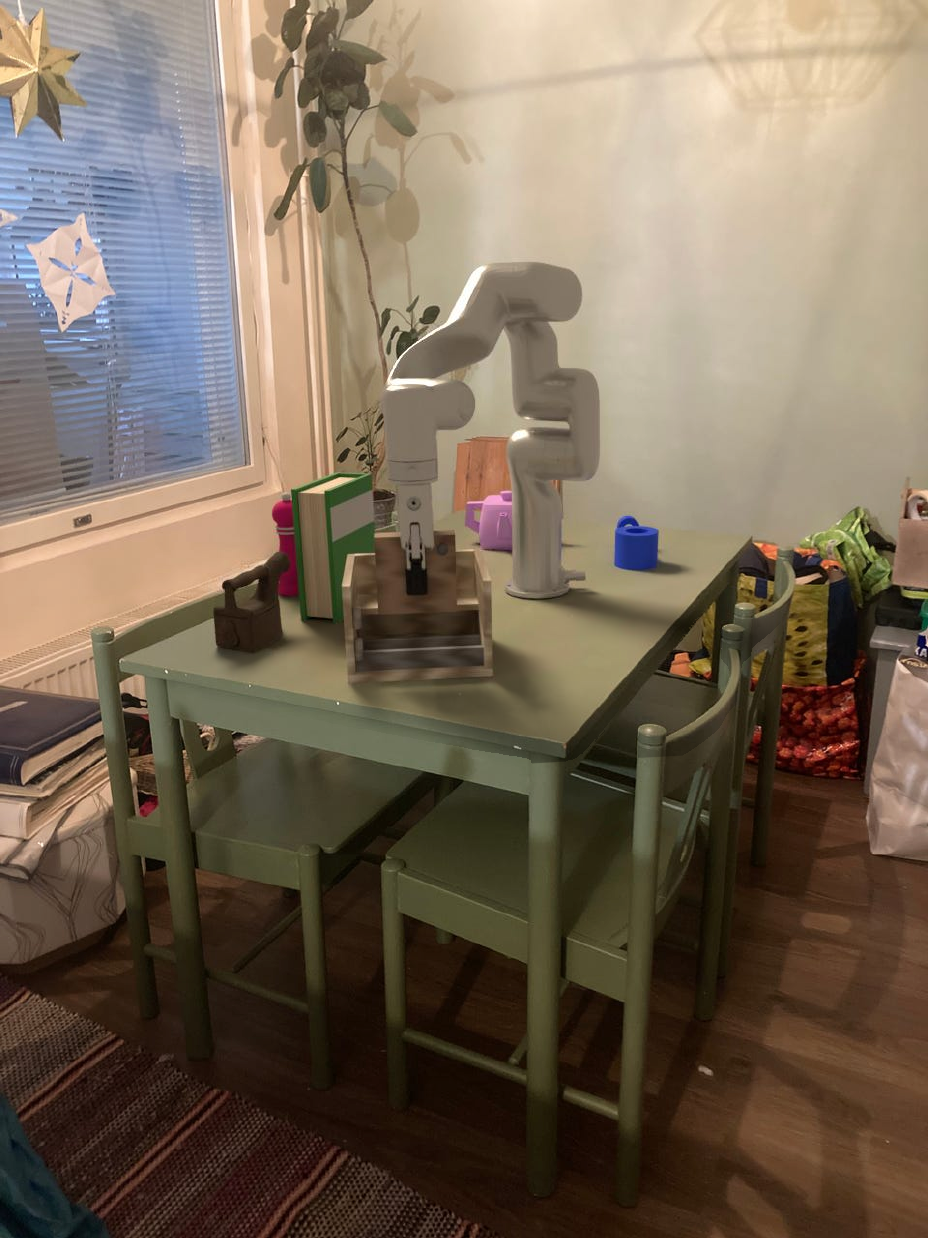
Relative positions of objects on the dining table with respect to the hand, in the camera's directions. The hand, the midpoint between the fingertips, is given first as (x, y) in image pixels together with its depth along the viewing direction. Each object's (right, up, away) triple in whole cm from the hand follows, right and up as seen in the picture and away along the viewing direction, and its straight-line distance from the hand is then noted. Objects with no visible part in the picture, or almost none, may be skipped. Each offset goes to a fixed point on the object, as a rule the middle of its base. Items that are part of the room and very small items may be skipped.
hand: (416, 589), depth 149 cm
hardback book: (-16, -2, +36) cm, 39 cm away
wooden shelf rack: (0, -11, +9) cm, 14 cm away
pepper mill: (-27, +1, +46) cm, 53 cm away
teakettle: (+18, +13, +80) cm, 83 cm away
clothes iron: (-28, -8, +20) cm, 35 cm away
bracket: (+44, +8, +65) cm, 79 cm away
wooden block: (0, -3, +1) cm, 3 cm away
